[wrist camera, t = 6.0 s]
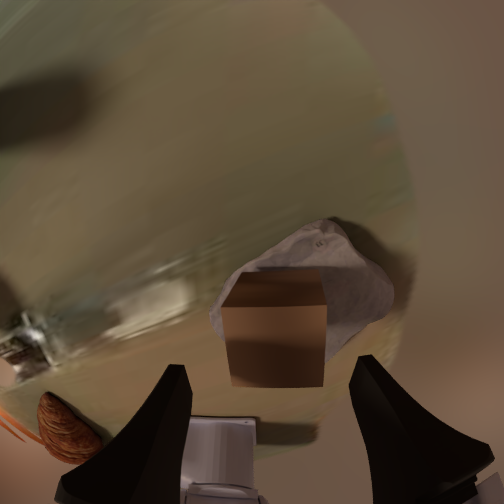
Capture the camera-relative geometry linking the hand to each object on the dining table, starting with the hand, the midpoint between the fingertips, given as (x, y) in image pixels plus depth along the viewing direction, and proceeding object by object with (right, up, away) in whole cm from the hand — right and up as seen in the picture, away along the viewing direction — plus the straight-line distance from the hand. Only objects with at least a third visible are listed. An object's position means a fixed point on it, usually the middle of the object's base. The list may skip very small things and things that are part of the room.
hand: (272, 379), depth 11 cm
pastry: (-32, -25, +23) cm, 46 cm away
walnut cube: (+1, +2, +6) cm, 7 cm away
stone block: (+2, +3, +10) cm, 11 cm away
